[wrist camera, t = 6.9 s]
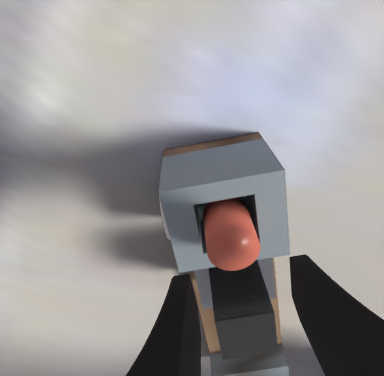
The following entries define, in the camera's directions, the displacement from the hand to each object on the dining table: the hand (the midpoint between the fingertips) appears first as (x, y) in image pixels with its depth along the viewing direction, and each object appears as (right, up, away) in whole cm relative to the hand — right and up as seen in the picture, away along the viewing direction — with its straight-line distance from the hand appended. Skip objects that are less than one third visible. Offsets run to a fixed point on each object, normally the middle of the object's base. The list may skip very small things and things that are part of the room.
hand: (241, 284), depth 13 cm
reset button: (0, +2, +5) cm, 5 cm away
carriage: (+1, -1, +10) cm, 10 cm away
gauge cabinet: (0, +4, +8) cm, 9 cm away
